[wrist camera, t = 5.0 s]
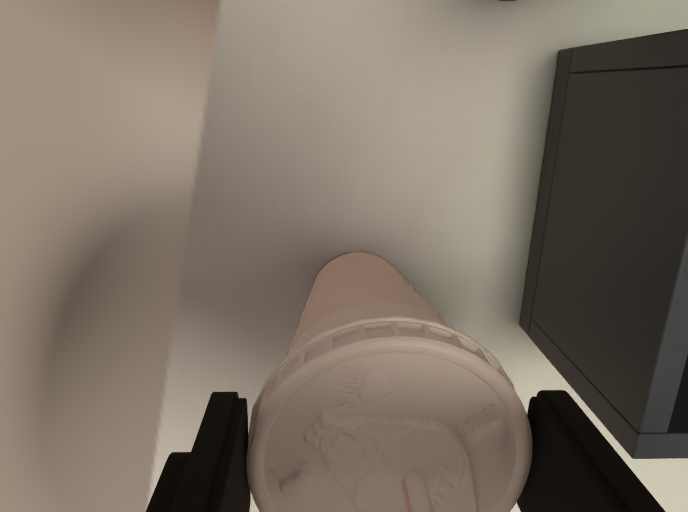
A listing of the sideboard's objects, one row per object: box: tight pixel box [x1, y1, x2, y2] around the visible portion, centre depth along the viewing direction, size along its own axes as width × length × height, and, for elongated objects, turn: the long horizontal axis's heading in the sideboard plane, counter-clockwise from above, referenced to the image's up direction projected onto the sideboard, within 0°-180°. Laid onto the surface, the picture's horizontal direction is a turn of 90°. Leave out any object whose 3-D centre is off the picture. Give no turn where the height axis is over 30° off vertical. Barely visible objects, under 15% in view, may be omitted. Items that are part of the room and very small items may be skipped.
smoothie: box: [247, 252, 532, 512], centre depth 14 cm, size 6×6×14 cm
